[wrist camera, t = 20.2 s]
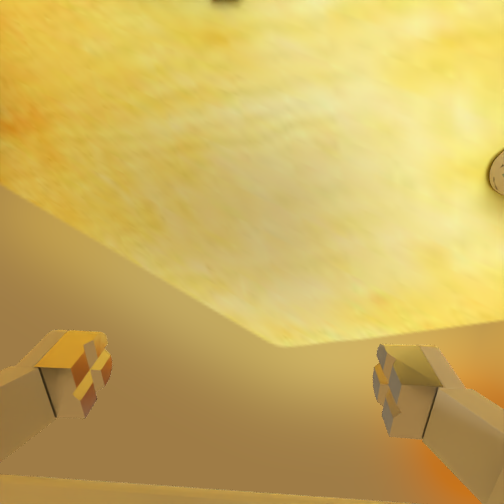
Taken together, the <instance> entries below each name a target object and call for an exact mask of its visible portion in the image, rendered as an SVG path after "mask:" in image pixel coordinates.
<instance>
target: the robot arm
mask: <svg viewBox="0 0 504 504" xmlns="http://www.w3.org/2000/svg"><path fill="white" fill-rule="evenodd" d="M107 344H108V340H107V337H106V334H104V333H102V332H92V331H77V330H71V331H70V330H53V331H50V332H49V333H48V334H47V335H46V336H45V337H44V338H43V339H42V340H41V341H40V342H39V343H38V344H37V345H36V346H35V347H34V348H33V349H32V350H31V351H30V352H29V353H28V354H27V355H26V356H25V357H24V358H23V359H22V360H21V361H20V362H19V363H18V364H17V365H16V366H9V367H7V368H5V369H3V370H1V371H0V462H2V461H3V460H4V459H5V458H6V457H8V456H9V455H11V454H12V453H13V452H14V451H16V450H17V449H18V448H19V447H21V446H22V445H23V444H25V443H26V442H27V441H29V440H30V439H31V438H32V437H33V436H35V435H36V434H38V433H39V432H40V431H41V430H43V429H44V428H45V427H47V426H48V425H49V424H50V423H52V422H53V421H54V420H55V419H56V418H83V419H85V418H86V417H87V415H88V413H89V412H90V410H91V409H92V407H93V405H94V403H95V402H96V400H97V396H96V392H98V391H99V390H101V389H102V388H104V387H105V386H106V384H107V382H108V380H109V378H110V375H111V371H112V358H111V355H110V354H109V353H108V352H107V351H106V350H105V347H106V346H107ZM377 357H378V360H379V364H377V365H376V366H375V367H374V372H373V388H374V393H375V397H376V400H377V402H378V403H380V404H381V405H382V406H383V411H382V417H383V420H384V423H385V426H386V429H387V432H388V434H389V437H400V438H411V439H422V440H423V442H424V443H425V444H426V445H427V446H428V448H429V449H431V451H432V452H433V453H434V454H435V455H436V456H437V457H438V458H439V459H440V460H441V461H442V462H443V463H444V464H445V465H446V466H447V467H448V468H449V469H450V470H451V471H452V472H453V474H454V475H455V476H456V477H457V478H458V479H459V480H460V481H461V482H462V483H463V484H464V485H465V486H466V487H467V488H468V489H469V490H470V491H471V492H472V493H473V494H474V495H475V496H476V497H477V498H478V499H479V501H481V503H482V504H504V409H502V408H501V407H499V406H498V405H496V404H494V403H493V402H491V401H490V400H488V399H487V398H485V397H484V396H482V395H480V394H479V393H477V392H476V391H474V390H472V389H466V388H465V386H464V385H463V383H462V382H461V380H460V379H459V377H458V376H457V374H456V373H455V371H454V370H453V368H452V367H451V366H450V364H449V363H448V361H447V360H446V358H445V357H444V355H443V354H442V352H441V351H440V350H439V348H438V347H436V346H435V345H394V344H392V345H391V344H380V345H379V347H378V350H377ZM0 504H416V503H402V502H388V501H374V500H360V499H346V498H331V497H317V496H303V495H302V496H301V495H289V494H274V493H261V492H246V491H232V490H219V489H204V488H191V487H190V488H189V487H177V486H163V485H149V484H135V483H121V482H106V481H92V480H79V479H65V478H51V477H37V476H23V475H9V474H0Z"/></svg>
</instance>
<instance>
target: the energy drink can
mask: <svg viewBox="0 0 504 504" xmlns="http://www.w3.org/2000/svg"><path fill="white" fill-rule="evenodd" d="M490 183H491V185H492V187H493V189H494V190H496V191H497V192H498V193H500V194H502V195H504V151H503V152H502V153H501V154H500V155H499V156H498V157H497V158H496V159H495V160H494V162H493V164H492V166H491V169H490Z"/></svg>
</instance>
